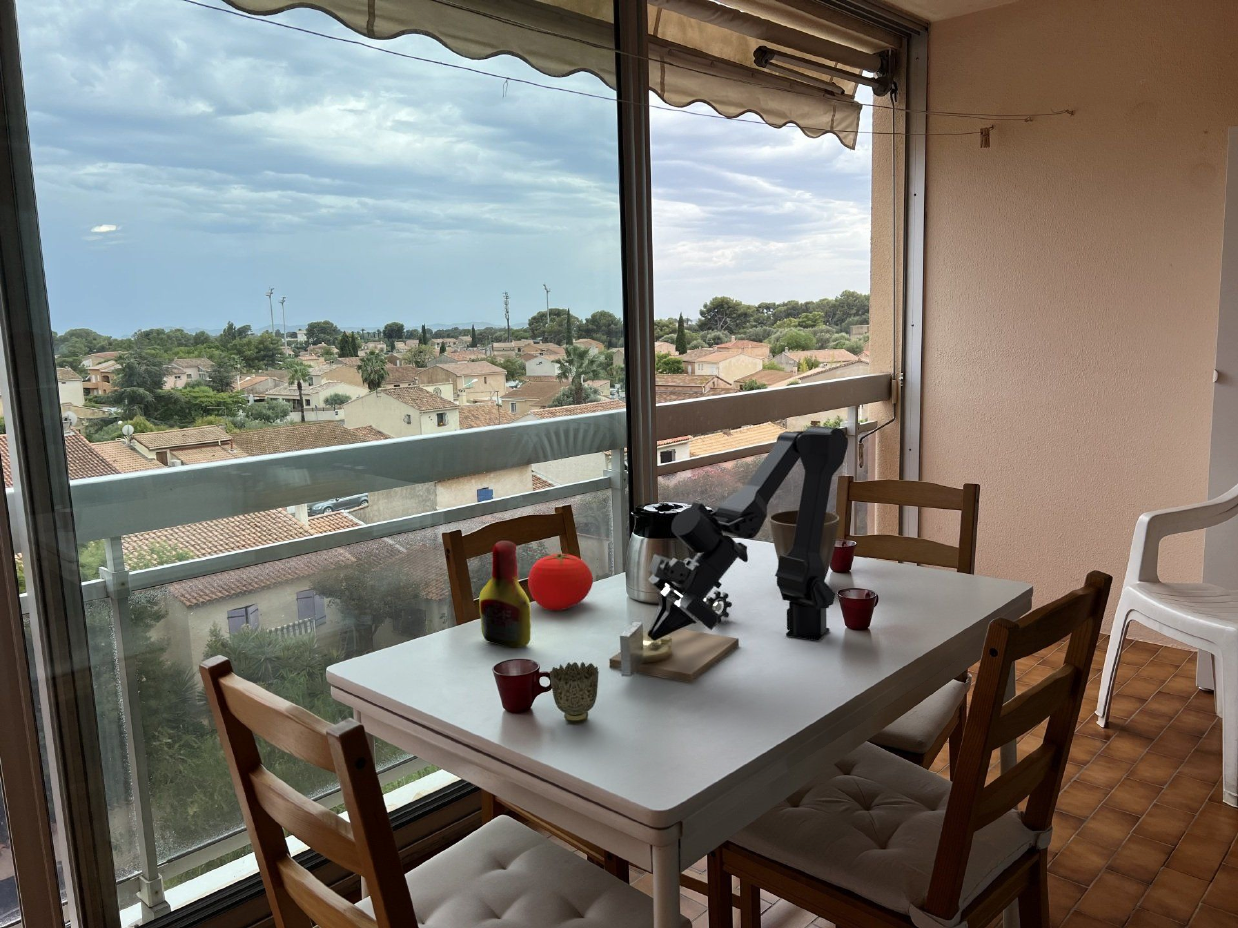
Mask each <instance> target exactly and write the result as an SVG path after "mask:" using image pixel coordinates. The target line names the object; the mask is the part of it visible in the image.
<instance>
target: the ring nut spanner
mask: <svg viewBox="0 0 1238 928" xmlns="http://www.w3.org/2000/svg"><path fill="white" fill-rule="evenodd" d="M648 632H649V629H647V631H644V624H643V622H642V621H641V622H639V621H633V622H632V623H631V624H630V625H629V626H628V627H626V628H625V630H624V631H623V632H622V633H621V634H620V635H619V643H620V644H619V645H620V646H619V648H620V649H619V651H620V652H621V669H620V671H621V672H620V673H621V677H626V678H631V677H633V675H634V674H635V673H637V672H636V671H637V669H638V668H639V667H640V666H641V665H642V664H643V663H651V662H658V661H662V660H665V659H667V658H669V657H670V656H671V655H672V653H673V652H672V638H671V637H670V636H669V635H666V636H664V637H662V638H660V639H658V640H656V641H654V640H652V639H651V638H650V637H649V636H648Z"/></svg>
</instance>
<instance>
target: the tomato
mask: <svg viewBox="0 0 1238 928" xmlns="http://www.w3.org/2000/svg"><path fill="white" fill-rule="evenodd" d="M593 580H594V578H593V574H592V572H591V570H590V567H589V566H588V565H587V564H586V562H585V561H584V560H582V559H580V558H579V557H577V556H574V555H572V554H570V553H553V554H549V555H546V556H544V557H542V558H540V559H538V560H537V561H536V562H535V563H534V564H533V565H532V567H531V569H530V570H529V574H528V578H527V585H528V589H529V594H530V595H531V597H532V599H533V600H534V601H535V602H536V604H538V605H539V606H540V607H541V608H543V609H545V610H548V611H562V610H566V609H569V608H572V607H574V606H576V605H578V604H580V603H581V602H582V601H583V600H585V598H586V597H587V596H588V595H589V593H590V591H591V589H592V586H593V582H594V581H593Z"/></svg>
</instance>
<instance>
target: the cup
mask: <svg viewBox="0 0 1238 928" xmlns="http://www.w3.org/2000/svg"><path fill="white" fill-rule="evenodd" d="M599 672H600V671H599V668H598V666H597V665H596V666H595V665H594V664H593V663H592V662H590V663H589V664H587V665H586V663H585V662H583V661H582V662H581V663H580V666H579V663H577V662H575V661H574V662H572V663H570V662H568V663H566V665H565V667H564V666H563V665H562V664H560V665H559V667H556V666H555V667H554V666H553V667H552V669H551V670H549V677H550V679H549V680H550V684H551V689H552V691H551V692H552V695H553V699H554V704H555V705H556V707H557V709H559V711H561V712H562V713H563V717H564V720H565V722H567V723H569V724H573V725H574V724H575V725H578V724H583V723H585V722H587V720H588V719H589V718H588V717H589V711H591V710H592V708H593V707H594V706H595V704H596V701H597V696H598V689H599V687H598V686H599Z"/></svg>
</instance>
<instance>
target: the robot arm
mask: <svg viewBox="0 0 1238 928" xmlns="http://www.w3.org/2000/svg"><path fill="white" fill-rule="evenodd" d="M848 446H849V437H848V436H847V435H846V433H845V431H844V430H843V429H842V428H840V427H833V426H821V425H810V426H808V427H807V428H806V429H805V430H802V431H801V430H800V431H798V430H797V431H796V430H794V431H786V430H785V431H783V432H781V433H779V434H778V436H777V437H776V442H775V444H774V445H773V446H772V448H771V449H770V451H769V452H768V453H767V455H766V457H765V458H764V459H763V461H762V462H761V463H760V465H759V466H758V468H757V469H756V470H755V472H754V473H753V474H752V476H751V477H750V479H749V480H748V481H747V483H746V484H745V485H744V486H743V487H742V488H740V489H739V490H737V491H735V492H734V493H732V494H729V496H728V497H727V498H726V499H725V500H724V501H723V502H722V503H721V504H720V505H719V506H718V507H717V509H716V510H713V511H712V512H710V511H709V510H708V509H707V507H706V506H705V505H704V504H703V503H701V502H696V501H693V502H692V503H691V505H690V507H686V508H685V509H683V510H681V512H679V513H678V514H675V516H674V518H673V520H672V521H671V533H673V535H675V536H676V537H677V538H678V539H679V540H680V541H682V543H683V544H685V545H686V547H688V548H689V550H691V551H692V552H693V553H696V555H695V556H694V557H693V558H692V559H691V558H690V557H687V558H685V559H684V560H681V559H680V560H679V559H677V558H675V557H673V558H672V559H671V558H668V557H665V556H662V555H659V554H655V553H654V554H653V557H652V560H651V562H650V564H649V567H648V569H647V572H648V573H650V574H652V575H650V577H649V578H648V579H647V581H648V582H650V583H651V584H652V585H653V586H654V587H655V588H656V589H657V590H656V594H657V597H658V607H657V610H656V613H655V615H654V617H653V620H652V622H651V625H650V627H649V628H648V630H649V632H648V631H647V632H648V636H649V637H650V638H651V639H652V640H654V641H656V640H658V639H660V638H662V637H664V636H666V635H668V634H670V633H672V632H674V631H676V630H678V629H682V628H686V627H687V626H690V625H692V624H693V625H696V624H697V621H696V620H695V618H696V619H697V620H698V621H700V622H701V623H702V625H704V626H705V627H706V628H707V629H709V630H710V631H712V630H713V629H714V628H715V627H716V625H717V624H719V623H718V622H719V621H718V614H719V612H717V611H714V610H713V609H712V608H711V607H710V606H708V605H707V603H706V602H705V601H704V599H705V598H707V597H708V596H709V594H710V592H711V591H712V590H713V589H714V587H715V588H716V589H717V590H720V587H721V586H722V585H723V584H722V583H721V582H720V580H721V579H722V578H723V576H724V575H725V574H726V573H727V571H729V569H730V568H731V567H732V565H733V564H734V563H735V561H736V560H737V559H739V560H741V561H742V562H744V563H747V562H748V560H749V558H748V557H749V556H748V546H747V545H745V544H744V543H743V542H741V541H740V542H736V541H735V540H734V539H733V538H732V537H734V538H735V537H736V538H740V539H743V540H749V539H754V538H755V537H756V536H757V535H758V533H760V531H761V529H762V526H763V524H764V523H765V521H766V519H767V516H768V505H769V503H770V501H771V499H772V498H773V496H774V495H775V494H776V492H777V491H778V490H779V488H780V486H781V485H782V484H783V482H785V480H786V478H788V477H787V476H788V475H789V474H790V472H791V470H793V468H794V467H795V465H796V464H797V462H798V461H799V459H800V461H801V463H802V467H803V470H804V477H803V482H802V483H803V484H802V489H801V496H800V500H799V501H800V502H799V506H798V510H799V511H798V517H797V523H796V529H795V535H794V541H793V546H792V549H791V550H790V551H789V552H788V554H787V555H786V556H783V555H781V556H780V557H779V559H778V558H777V560H778V561H777V564H778V565H777V569H776V573H775V575H774V576H775V577H776V586H777V587H778V589H779V591H780V595H781V598H782V600H783V601H787V602H788V608H787V609H786V630H787V632H786V633H785V636H787V637H790V638H796V639H802V640H810V641H814V642H815V641H816V642H820V641H821V640H822V639H823V638H824V637H825V636H826V635H827V634H829V632H830V630H831V628H829V627H827V609H829V608H830V606H832V605H834V601H835V598H836V593H835V591H834V590H833V589H832V588H831V587H830V586H829V585H828V584H827V582H826V581H824V579H825V580H826V578H825V567H824V564H823V562H822V559H821V556H820V553H819V552H820V545H821V539H822V533H823V527H824V521H825V516H826V512H827V510H828V503H829V498H830V497H829V496H830V492H831V484H832V481H833V476H834V475H835V474H836V472H837V471H838V470H839V469H840V467H841V466H842V465H843V464H844V462H845V457H846V453H847V449H848ZM722 534H723V535H722ZM731 536H732V537H731Z"/></svg>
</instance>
